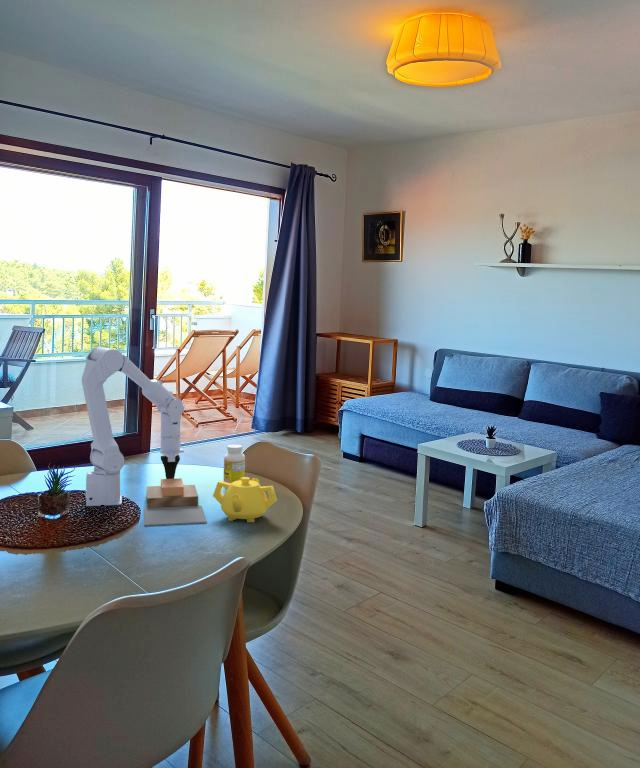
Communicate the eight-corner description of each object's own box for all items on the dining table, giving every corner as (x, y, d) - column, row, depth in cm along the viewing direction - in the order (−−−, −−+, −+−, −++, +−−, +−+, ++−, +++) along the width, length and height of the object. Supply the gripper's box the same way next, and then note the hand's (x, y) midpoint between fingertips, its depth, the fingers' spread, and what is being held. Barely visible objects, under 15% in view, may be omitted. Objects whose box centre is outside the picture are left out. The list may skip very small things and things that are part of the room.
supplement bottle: (221, 483, 221) (222, 443, 220) (242, 482, 223) (243, 443, 222) (225, 489, 215) (226, 448, 213) (246, 488, 217) (247, 448, 215)
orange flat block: (161, 496, 195) (162, 487, 195) (160, 487, 204) (160, 479, 204) (183, 495, 197) (183, 486, 196) (181, 486, 205) (181, 478, 205)
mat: (144, 526, 179) (144, 524, 179) (143, 509, 192) (143, 508, 192) (206, 523, 183) (206, 521, 183) (201, 507, 197) (201, 505, 197)
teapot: (265, 533, 178) (266, 490, 176) (199, 525, 181) (200, 484, 180) (285, 509, 197) (286, 471, 196) (225, 503, 200) (226, 466, 199)
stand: (147, 508, 193) (147, 498, 193) (146, 496, 205) (146, 486, 204) (198, 506, 197) (198, 496, 196) (194, 494, 208) (194, 484, 208)
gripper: (185, 440, 203) (185, 485, 205) (182, 430, 217) (181, 472, 219) (161, 440, 201) (160, 486, 203) (159, 430, 215) (158, 473, 217)
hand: (170, 479), depth 211 cm, fingers closed
